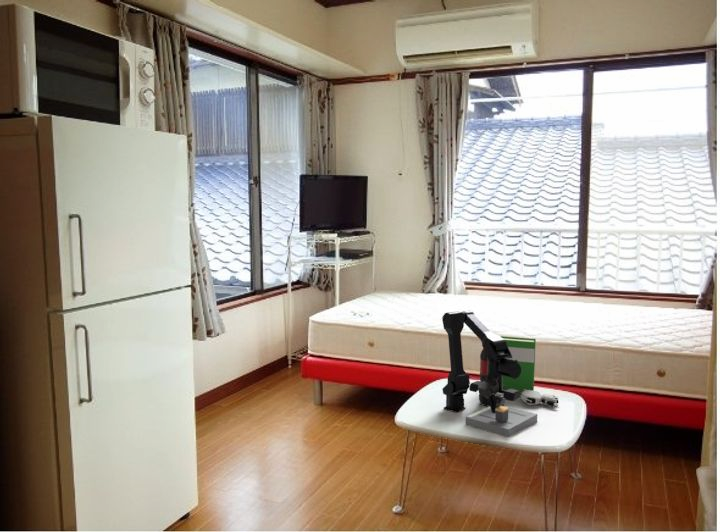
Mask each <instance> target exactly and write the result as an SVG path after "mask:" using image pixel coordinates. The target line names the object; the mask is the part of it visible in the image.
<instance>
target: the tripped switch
mask: <svg viewBox="0 0 720 532" xmlns="http://www.w3.org/2000/svg"><path fill="white" fill-rule="evenodd" d="M504 406H505V405H504ZM504 406H500V407H498V408H495V410H496V415H495V420H496V421H499V422H504V421H506V420H508V410H509V408H508V407H509V406H508V407H504Z"/></svg>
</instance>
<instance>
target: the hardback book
mask: <svg viewBox="0 0 720 532" xmlns="http://www.w3.org/2000/svg"><path fill="white" fill-rule="evenodd" d="M499 336H500V337H501V338H503V339H504V340H505V341H506V343H507V346H508V349H509V351H510V352H511V355H512V358H511V359H516V360H517V363H518V364H519V365H520V366H521V374H520V376H519V377H518V378H516V379H513V378H510V377H507V376H505V377H504V378H503V385H504V388H503V390H509V389H515V390H519V391H520V393H522V392H523V391H525V390H524V389H526V390H532V391H535V369H536V368H535V365H536V363H535V362H536V344H537V343H536V341H537V340H536V338H533V337H532V338H531V337H530V338H529V337H519V336H505V335H499ZM502 354H504V353H502ZM500 355H501V354H500ZM498 392H499V391H498Z"/></svg>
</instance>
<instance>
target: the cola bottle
mask: <svg viewBox="0 0 720 532" xmlns="http://www.w3.org/2000/svg"><path fill="white" fill-rule="evenodd" d="M493 333H494V332H493ZM494 334H496V333H494ZM486 354H487V352H486V351H485V349H484V348H483V347H482V350H481V352H480V355H479V359H480V360H479V361H480V362H479V381H481V382H483V381H484V380H485V375H487V365H488V359H486V358H484V356H485V355H486ZM496 355H500V354H496ZM478 400H479V403H480V404H481V405H483V406H485V407H489V406H490V404H489V402H488V399H487V398H486V397H485V396H483V395H480V394H479V393H478Z"/></svg>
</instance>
